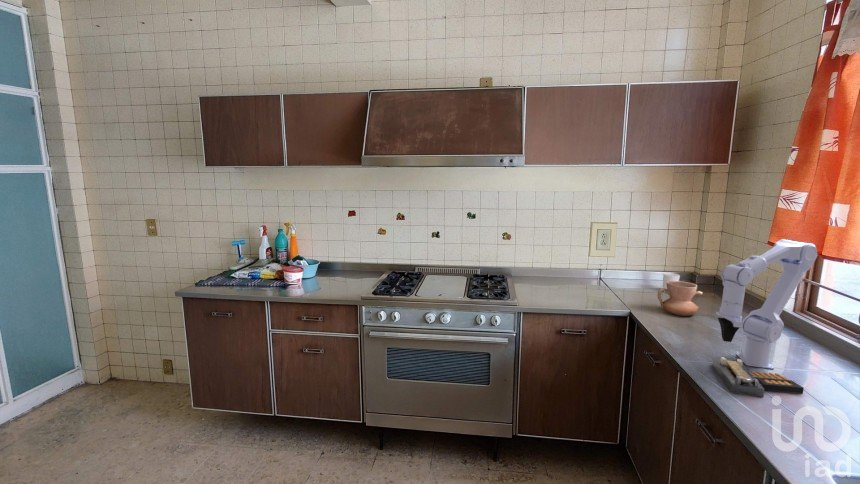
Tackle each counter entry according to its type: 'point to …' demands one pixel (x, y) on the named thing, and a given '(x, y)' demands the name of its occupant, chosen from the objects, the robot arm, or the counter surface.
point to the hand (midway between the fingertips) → (726, 340)
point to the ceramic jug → (679, 298)
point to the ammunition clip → (777, 382)
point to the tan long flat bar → (739, 371)
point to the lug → (723, 362)
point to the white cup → (669, 278)
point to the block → (738, 380)
